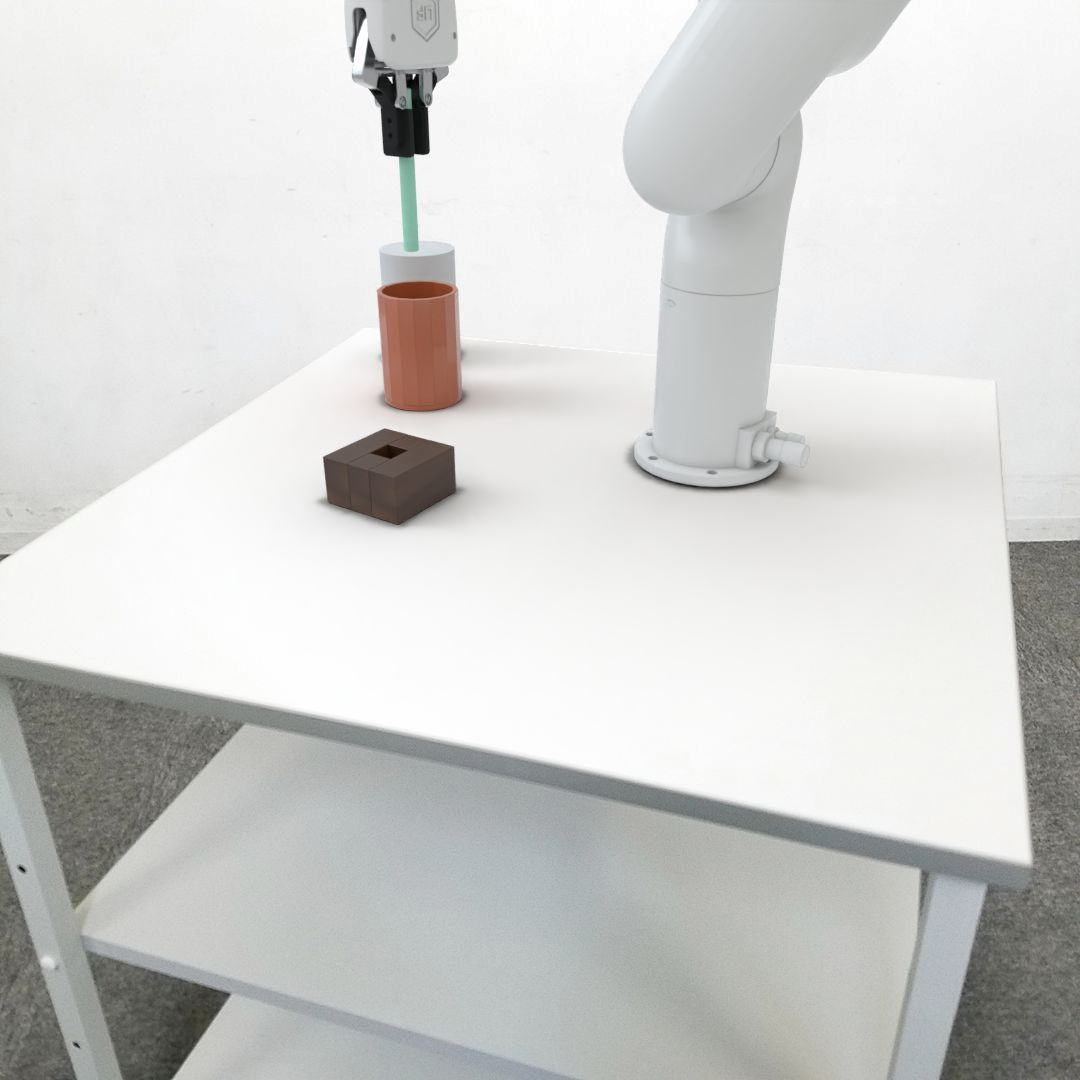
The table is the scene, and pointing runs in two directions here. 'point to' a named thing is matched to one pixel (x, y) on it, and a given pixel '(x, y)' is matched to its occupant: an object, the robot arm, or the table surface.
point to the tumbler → (420, 344)
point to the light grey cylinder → (418, 263)
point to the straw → (409, 197)
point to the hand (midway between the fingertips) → (406, 153)
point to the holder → (390, 475)
